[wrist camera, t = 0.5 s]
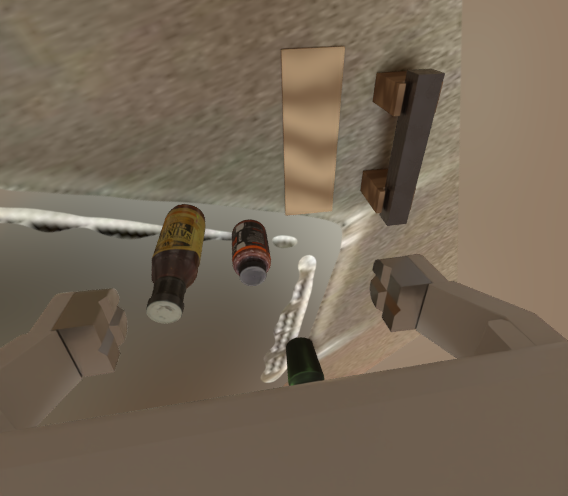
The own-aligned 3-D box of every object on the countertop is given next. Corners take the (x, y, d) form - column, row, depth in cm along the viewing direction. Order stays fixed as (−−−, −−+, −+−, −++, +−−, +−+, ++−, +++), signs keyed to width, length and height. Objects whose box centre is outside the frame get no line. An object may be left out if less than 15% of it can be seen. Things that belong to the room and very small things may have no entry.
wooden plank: (281, 49, 39) (281, 49, 39) (344, 46, 40) (344, 46, 40) (285, 214, 54) (285, 215, 54) (331, 209, 55) (331, 211, 55)
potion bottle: (321, 342, 79) (342, 417, 65) (297, 358, 82) (312, 433, 67) (300, 330, 74) (317, 407, 60) (275, 347, 77) (286, 424, 63)
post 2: (363, 170, 51) (380, 191, 46) (395, 167, 52) (415, 188, 46) (360, 190, 53) (376, 213, 48) (391, 187, 54) (410, 209, 48)
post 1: (376, 72, 43) (399, 84, 37) (415, 70, 43) (443, 81, 37) (372, 101, 45) (393, 116, 39) (409, 99, 45) (435, 113, 40)
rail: (406, 70, 37) (419, 74, 35) (431, 68, 38) (444, 73, 35) (379, 215, 50) (387, 225, 47) (397, 213, 50) (406, 223, 48)
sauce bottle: (197, 197, 50) (183, 286, 34) (211, 228, 54) (205, 321, 38) (157, 208, 50) (126, 301, 35) (174, 238, 54) (154, 334, 39)
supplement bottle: (228, 220, 53) (228, 264, 45) (263, 215, 54) (270, 257, 45) (235, 248, 57) (236, 293, 48) (268, 243, 57) (275, 287, 49)
